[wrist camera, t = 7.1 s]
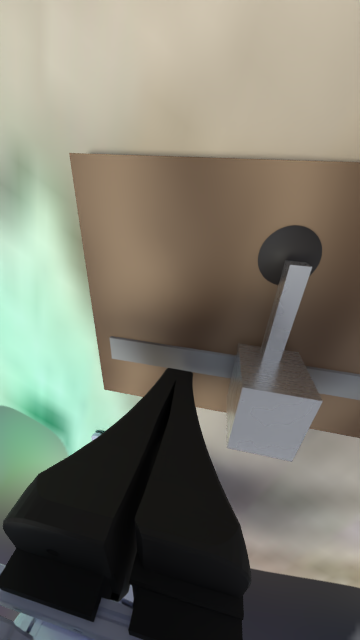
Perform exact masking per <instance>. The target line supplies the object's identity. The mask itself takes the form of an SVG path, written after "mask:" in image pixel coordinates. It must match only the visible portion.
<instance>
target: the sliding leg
mask: <svg viewBox="0 0 360 640" xmlns="http://www.w3.org/2000/svg"><path fill="white" fill-rule="evenodd" d="M311 269H312V266H310V265H309V264H307V263H306V262H298V261H287V260H285V263H284V267H283V270H282V274H281V277H280V281H279V285H278V288H277V292H276V295H275V299H274V302H273V306H272V310H271V313H270V317H269V320H268V324H267V328H266V331H265V335H264V338H263V342H262V346H261V347H259V346H252V345H245V344H238V348H237V353H236V357H235V362H234V367H233V371H232V376H231V380H230V385H229V390H228V394H227V448H230V449H235V450H239V451H244V452H249V453H254V454H258V455H263V456H268V457H272V458H277V459H282V460H287V461H291V462H292V460H293V458H294V456H295V455H296V453H297V451H298V449H299V447H300V445H301V443H302V441H303V439H304V437H305V435H306V433H307V431H308V429H309V427H310V425H311V423H312V421H313V419H314V418H315V416H316V414H317V412H318V410H319V408H320V406H321V404H322V402H323V401H322V398H321V396H320V394H319V392H318V390H317V388H316V386H315V384H314V382H313V380H312V378H311V376H310V374H309V372H308V370H307V368H306V366H305V364H304V362H303V360H302V358H301V356H300V354H299V352H293V351H286V350H284V349H285V346H286V343H287V340H288V337H289V334H290V331H291V328H292V325H293V322H294V319H295V316H296V313H297V310H298V308H299V305H300V302H301V299H302V296H303V293H304V290H305V287H306V284H307V281H308V278H309V275H310V272H311Z"/></svg>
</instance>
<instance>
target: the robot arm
mask: <svg viewBox="0 0 360 640" xmlns="http://www.w3.org/2000/svg"><path fill="white" fill-rule="evenodd" d="M3 529H4V531H5V533H6V534H7V536H8V537H9V539H10V540H11V541H12V543H13V544H14V545H15V547H16V550H15V552H14V553H13V555H12V556H11V558H10V560H9V561H8V563H7V565H6V566H5V565H3V564H0V605H1V606H4V607H6V608H9V609H12V610H15V611H18V612H20V614H19V615H18V616H17V618H16V619H15V621H14V622H13V621H11V620H9V619H7V618H4V617H2V616H0V640H242V620H243V617H244V611H243V594H244V593H245V591H246V590H247V588H248V587H249V586H250V584H251V571H250V565H249V559H248V554H247V549H246V545H245V541H244V538H243V534H242V530H241V526H240V524H239V522H238V520H237V518H236V516H235V514H234V512H233V510H232V507H231V505H230V503H229V501H228V499H227V497H226V495H225V493H224V490H223V488H222V486H221V484H220V481H219V479H218V476H217V474H216V471H215V469H214V466H213V464H212V461H211V459H210V456H209V453H208V451H207V448H206V445H205V442H204V438H203V435H202V432H201V428H200V425H199V421H198V416H197V412H196V407H195V401H194V395H193V373H192V372H190V371H184V370H179V369H173V368H167V369H166V370H165V371H164V373H163V374H162V376H161V377H160V378H159V380H158V381H157V382H156V383H155V385H154V386H153V387H152V388H151V389H150V390H149V391H148V393H147V394H146V395H145V396H144V397H143V398H142V399H141V400H140V401H139V402H138V403H137V404H136V405H135V406H134V407H133V408H132V409H131V410H130V411H129V412H128V413H127V414H126V415H124V416H123V417H122V418H121V419H120V420H119V421H118V422H116V423H115V424H114V425H113V426H111V427H110V428H109V429H108V430H106V431H105V432H104V433H102V434H101V433H94V434H93V435H92V441H91V442H90V443H88V444H87V445H85V446H84V447H82V448H81V449H79V450H78V451H76V452H75V453H73V454H72V455H70V456H69V457H67V458H65V459H64V460H62V461H60V462H59V463H57V464H55V465H53V466H52V467H50V468H48V469H47V470H45V471H43V472H41V473H40V474H38V476H37V477H36V478H35V479H34V481H33V482H32V483H31V484H30V485H29V486H28V488H27V489H26V490H25V491H24V493H23V494H22V496H21V497H20V499H19V500H18V501H17V503H16V504H15V505H14V507H13V508H12V510H11V511H10V512H9V514H8V515H7V517H6V518H5V520H4V521H3Z"/></svg>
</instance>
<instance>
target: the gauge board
mask: <svg viewBox="0 0 360 640" xmlns="http://www.w3.org/2000/svg"><path fill="white" fill-rule="evenodd" d="M69 154H70V161H71V168H72V174H73V181H74V188H75V195H76V201H77V208H78V215H79V222H80V228H81V235H82V242H83V249H84V255H85V262H86V269H87V276H88V282H89V289H90V296H91V303H92V309H93V316H94V323H95V329H96V336H97V343H98V350H99V356H100V363H101V370H102V377H103V383H104V389H105V390H110V391H115V392H120V393H126V394H131V395H136V396H141V397H144V396H145V395H146V394H147V393H148V391H149V390H150V389H151V388H152V387H153V386H154V385H155V383H156V382H157V381H158V380H159V378H160V377H161V376H162V374H163V373H164V371H165V370H166V369H167V368H173V369H179V370H184V371H190V372H192V373H193V395H194V401H195V407H199V408H205V409H210V410H215V411H221V412H226V413H227V394H228V390H229V385H230V380H231V376H232V371H233V367H234V362H235V357H236V353H237V348H238V344H245V345H252V346H259V347H261V346H262V342H263V338H264V335H265V331H266V328H267V324H268V320H269V317H270V313H271V310H272V306H273V302H274V299H275V295H276V292H277V288H278V285H279V281H280V277H281V274H282V270H283V267H284V263H285V260H287V261H298V262H306V263H307V264H309V265H310V266H312V269H311V272H310V275H309V278H308V281H307V284H306V287H305V290H304V293H303V296H302V299H301V302H300V305H299V308H298V310H297V313H296V316H295V319H294V322H293V325H292V328H291V331H290V334H289V337H288V340H287V343H286V346H285V349H284V350H286V351H293V352H299V354H300V356H301V358H302V360H303V362H304V364H305V366H306V368H307V370H308V372H309V374H310V376H311V378H312V380H313V382H314V384H315V386H316V388H317V390H318V392H319V394H320V396H321V398H322V401H323V402H322V404H321V406H320V408H319V410H318V412H317V414H316V416H315V418H314V419H313V421H312V423H311V425H310V427H309V428H310V429H315V430H321V431H326V432H331V433H337V434H342V435H347V436H352V437H358V438H360V163H359V162H328V161H297V160H266V159H235V158H204V157H173V156H142V155H111V154H80V153H69Z"/></svg>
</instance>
